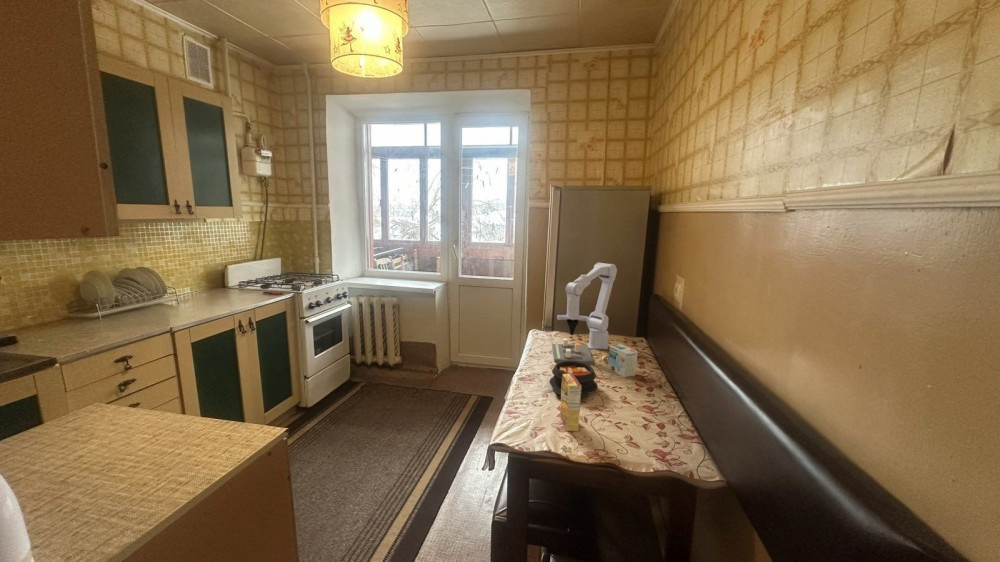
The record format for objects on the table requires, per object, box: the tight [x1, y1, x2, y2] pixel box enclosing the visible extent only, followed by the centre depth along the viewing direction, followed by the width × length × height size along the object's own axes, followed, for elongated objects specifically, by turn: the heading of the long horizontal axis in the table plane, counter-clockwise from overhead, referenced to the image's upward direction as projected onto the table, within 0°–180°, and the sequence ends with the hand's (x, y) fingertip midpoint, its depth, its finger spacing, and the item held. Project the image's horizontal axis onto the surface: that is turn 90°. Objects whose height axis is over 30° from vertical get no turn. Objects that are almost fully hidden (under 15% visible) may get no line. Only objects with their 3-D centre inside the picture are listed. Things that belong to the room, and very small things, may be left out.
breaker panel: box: [551, 337, 595, 365], centre depth 183 cm, size 18×22×5 cm
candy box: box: [559, 374, 582, 432], centre depth 120 cm, size 9×4×15 cm, turn 6°
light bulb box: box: [607, 343, 638, 378], centre depth 163 cm, size 11×7×11 cm, turn 25°
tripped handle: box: [574, 342, 581, 352], centre depth 183 cm, size 2×3×4 cm, turn 175°
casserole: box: [549, 361, 598, 399], centre depth 147 cm, size 25×19×8 cm
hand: (571, 334), depth 182 cm, fingers closed
